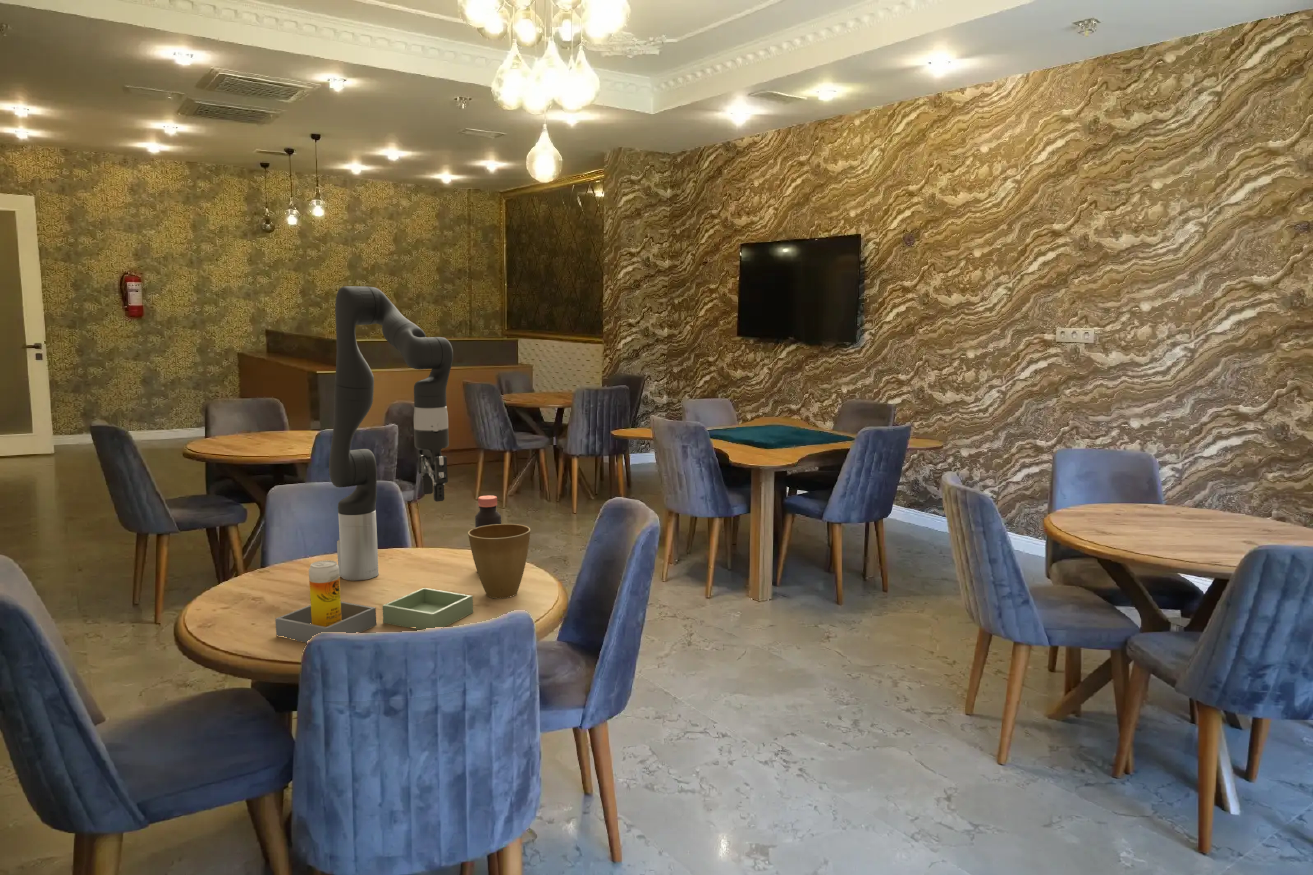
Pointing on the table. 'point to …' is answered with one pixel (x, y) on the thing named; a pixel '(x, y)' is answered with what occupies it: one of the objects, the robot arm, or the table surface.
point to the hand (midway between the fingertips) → (433, 497)
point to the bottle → (487, 511)
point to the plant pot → (500, 557)
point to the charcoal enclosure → (352, 622)
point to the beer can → (325, 593)
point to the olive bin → (427, 609)
